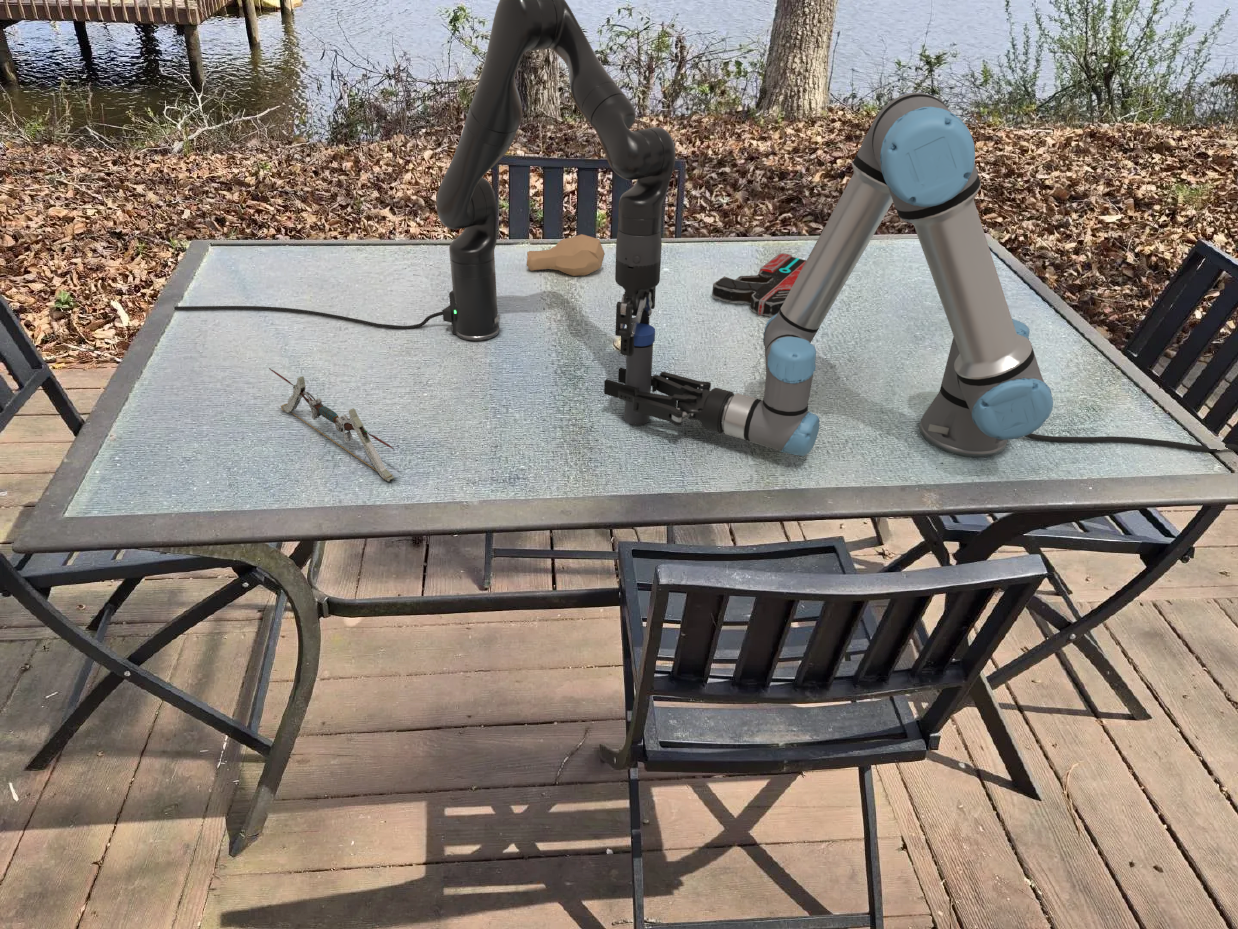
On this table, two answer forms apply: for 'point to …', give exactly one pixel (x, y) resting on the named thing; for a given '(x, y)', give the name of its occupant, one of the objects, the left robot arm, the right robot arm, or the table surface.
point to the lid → (644, 335)
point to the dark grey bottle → (638, 380)
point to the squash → (569, 256)
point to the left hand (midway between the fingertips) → (634, 344)
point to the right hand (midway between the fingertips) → (612, 380)
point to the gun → (762, 285)
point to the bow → (337, 424)
